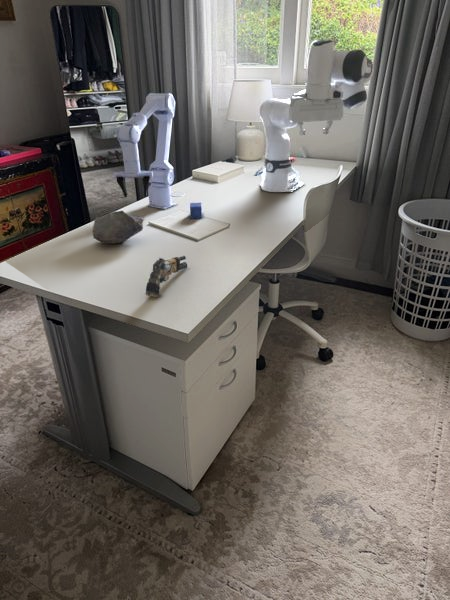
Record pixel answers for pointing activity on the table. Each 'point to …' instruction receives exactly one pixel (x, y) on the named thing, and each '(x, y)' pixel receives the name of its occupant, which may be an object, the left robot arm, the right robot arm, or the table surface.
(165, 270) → the toy gun
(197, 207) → the block
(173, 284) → the table surface
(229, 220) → the table surface
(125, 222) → the stone
